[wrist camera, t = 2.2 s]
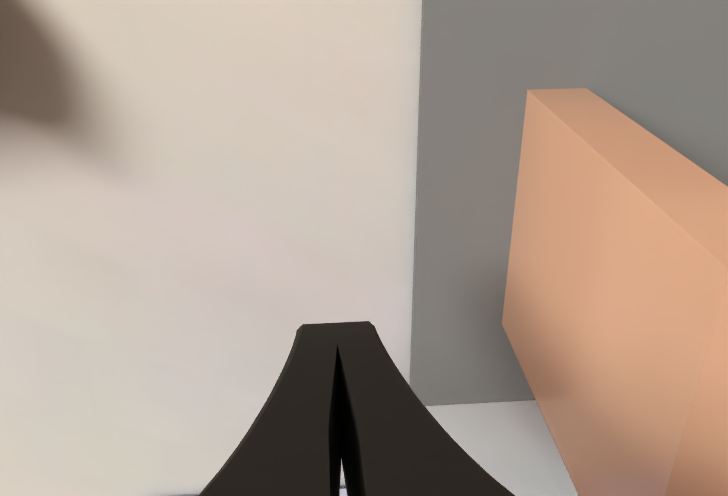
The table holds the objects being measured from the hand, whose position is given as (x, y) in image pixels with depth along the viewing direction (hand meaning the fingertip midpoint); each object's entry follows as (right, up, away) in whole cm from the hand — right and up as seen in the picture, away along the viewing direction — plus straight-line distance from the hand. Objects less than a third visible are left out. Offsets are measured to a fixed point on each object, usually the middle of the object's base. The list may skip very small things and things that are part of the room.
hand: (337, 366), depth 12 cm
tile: (+5, +3, +6) cm, 8 cm away
